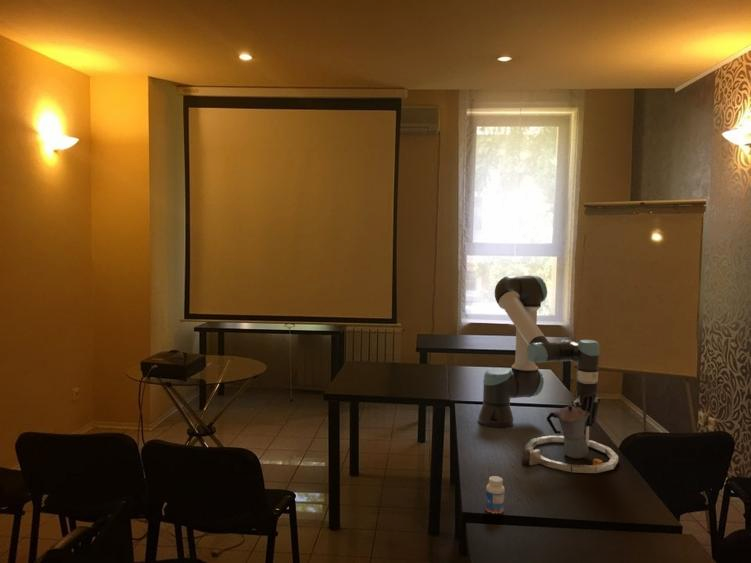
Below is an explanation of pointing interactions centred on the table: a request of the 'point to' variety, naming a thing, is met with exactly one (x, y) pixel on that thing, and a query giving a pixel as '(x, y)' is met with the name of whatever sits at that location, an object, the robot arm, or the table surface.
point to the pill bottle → (495, 495)
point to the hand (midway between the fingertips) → (584, 442)
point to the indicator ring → (535, 457)
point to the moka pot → (572, 430)
